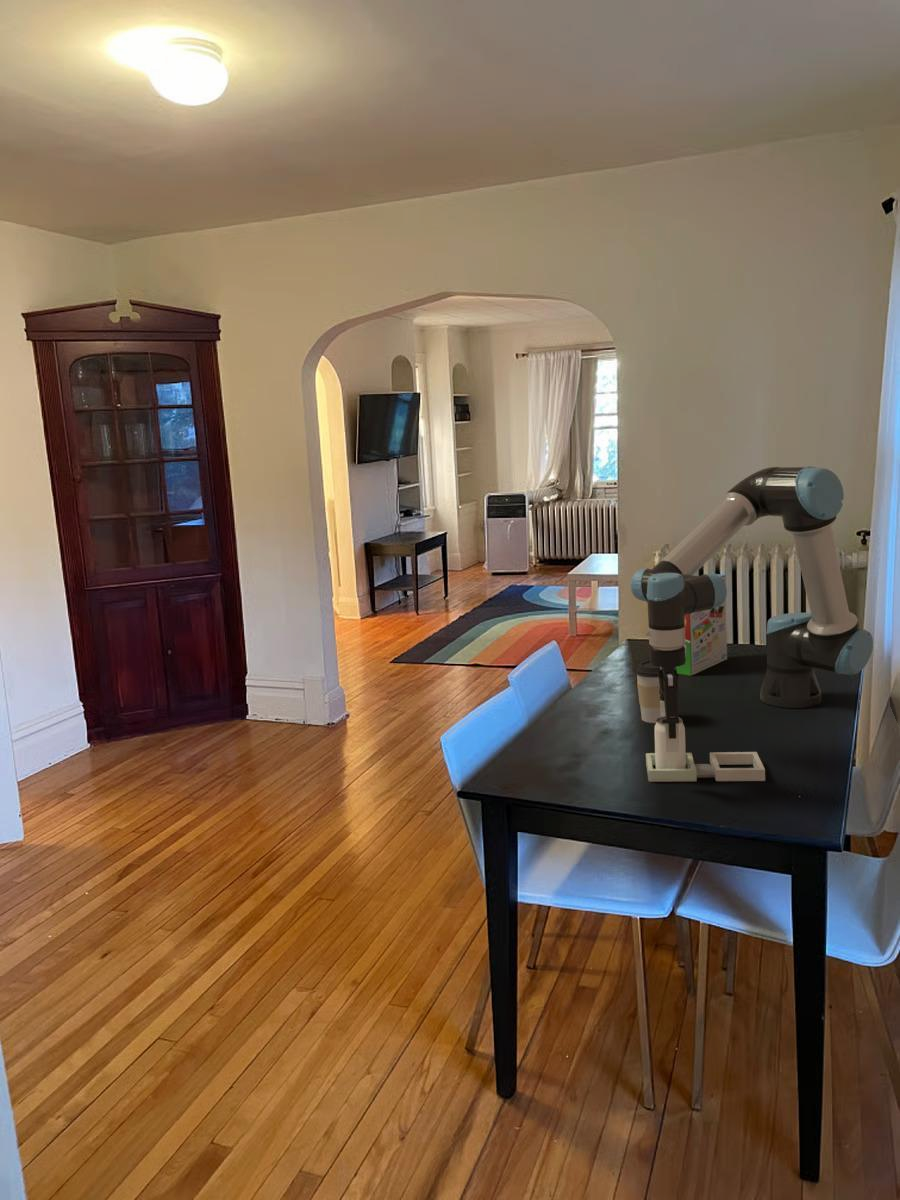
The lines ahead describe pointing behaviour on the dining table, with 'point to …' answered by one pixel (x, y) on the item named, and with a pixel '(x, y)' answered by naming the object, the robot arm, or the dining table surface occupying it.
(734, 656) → the dining table surface
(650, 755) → the socket panel
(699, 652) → the game box
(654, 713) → the coffee cup
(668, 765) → the can
